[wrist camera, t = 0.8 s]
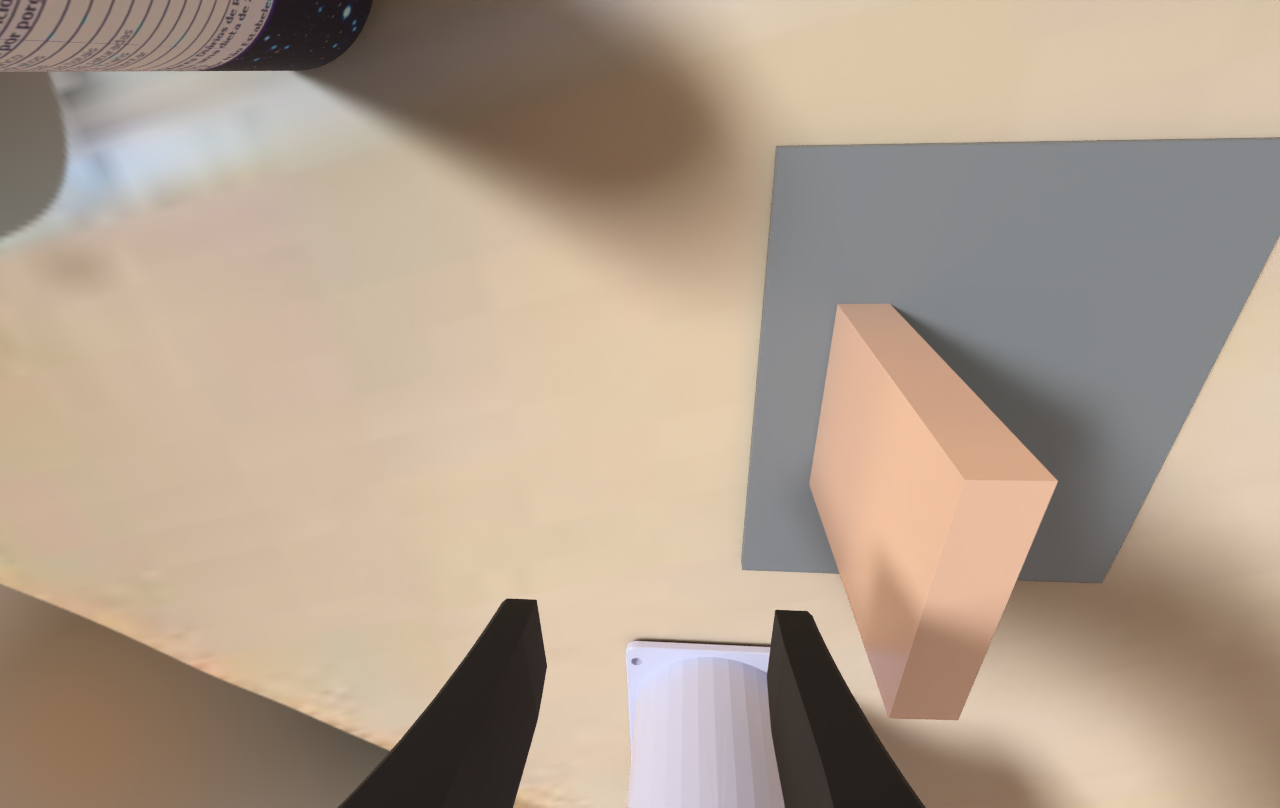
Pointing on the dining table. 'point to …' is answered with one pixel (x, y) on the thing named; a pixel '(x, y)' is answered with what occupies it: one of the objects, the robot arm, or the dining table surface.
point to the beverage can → (176, 34)
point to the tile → (919, 509)
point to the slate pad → (1012, 310)
